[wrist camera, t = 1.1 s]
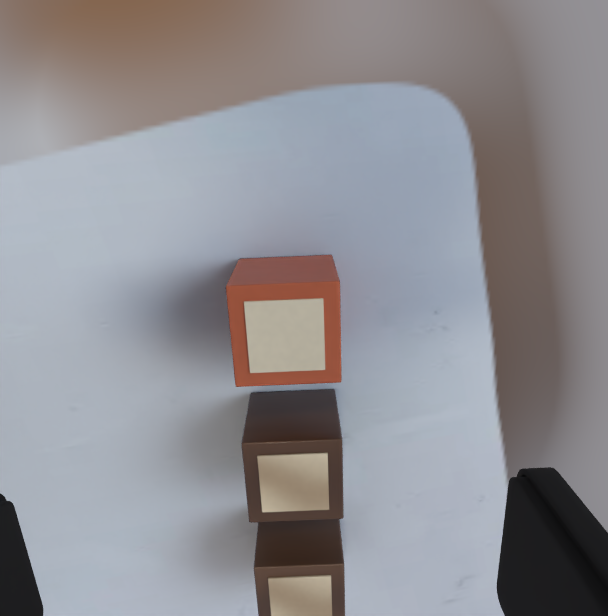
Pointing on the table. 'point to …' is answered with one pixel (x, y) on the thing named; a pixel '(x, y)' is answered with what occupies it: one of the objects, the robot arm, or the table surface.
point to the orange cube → (285, 320)
